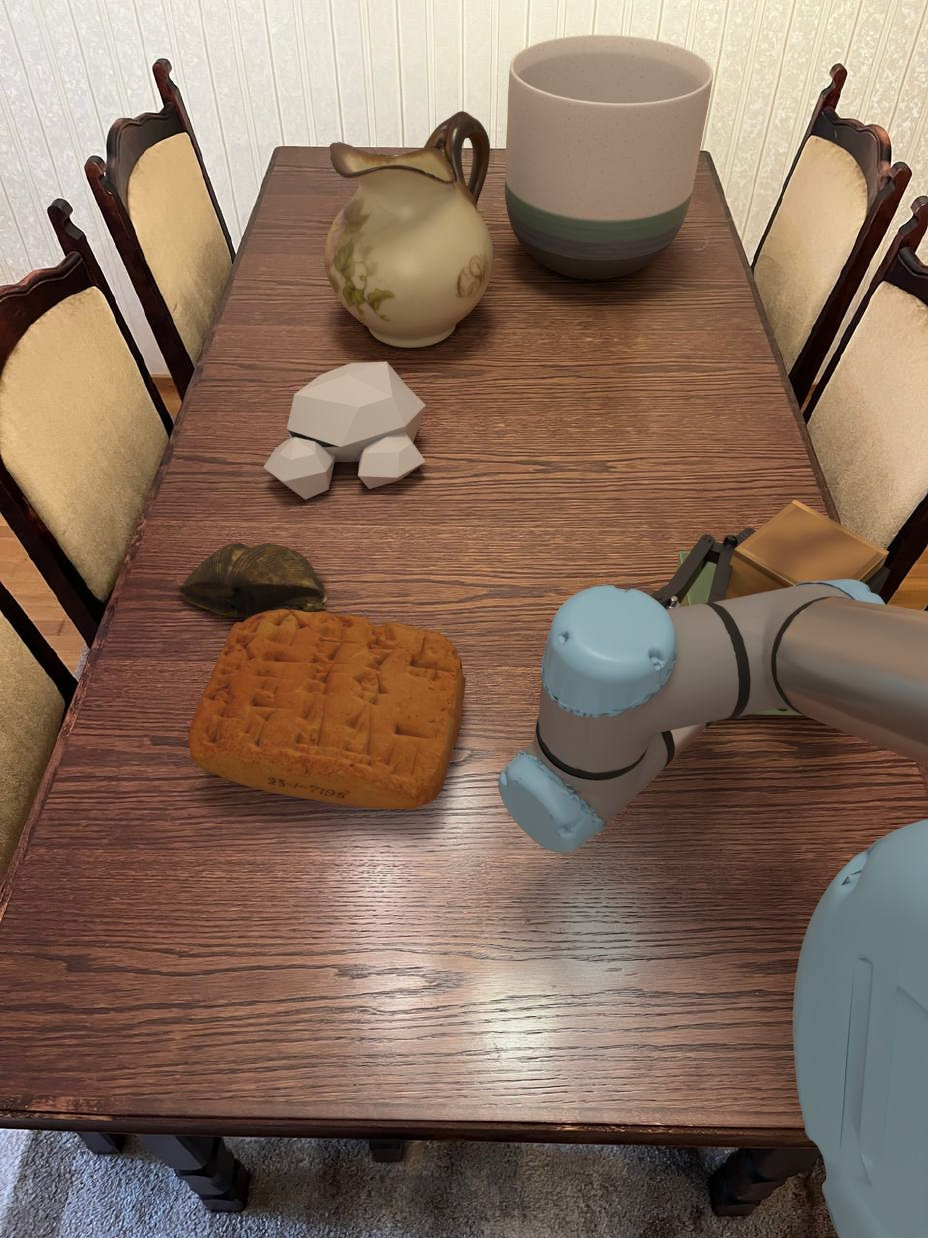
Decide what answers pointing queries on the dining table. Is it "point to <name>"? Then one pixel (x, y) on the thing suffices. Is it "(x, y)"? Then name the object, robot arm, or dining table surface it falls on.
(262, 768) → the cuneiform tablet
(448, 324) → the pitcher
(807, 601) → the robot arm
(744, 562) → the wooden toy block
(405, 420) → the rock
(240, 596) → the seashell
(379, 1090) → the dining table surface
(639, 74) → the planter
